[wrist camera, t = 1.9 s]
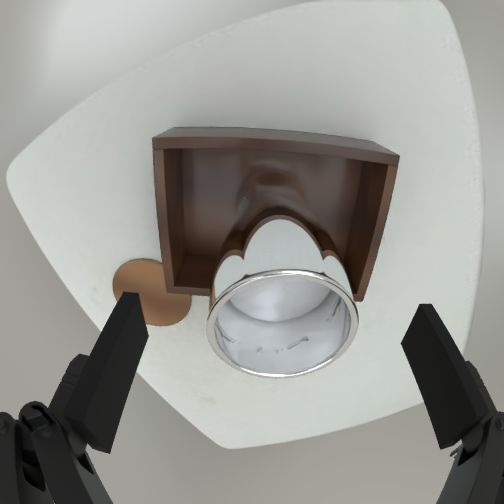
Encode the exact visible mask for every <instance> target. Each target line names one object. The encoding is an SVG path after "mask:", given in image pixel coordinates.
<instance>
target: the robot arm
mask: <svg viewBox="0 0 504 504" xmlns="http://www.w3.org/2000/svg"><path fill="white" fill-rule="evenodd" d="M148 337H149V335H148V331H147V327H146V323H145V319H144V314H143V310H142V306H141V301H140V297H139V293H134V292H124V291H123V293H122V295H121V297H120V299H119V300H118V302H117V304H116V306H115V308H114V309H113V311H112V313H111V315H110V317H109V319H108V321H107V322H106V324H105V326H104V328H103V330H102V332H101V334H100V336H99V338H98V340H97V342H96V344H95V346H94V348H93V350H92V352H91V354H90V356H87V355H83V354H79V355H77V356H76V357H75V358H74V359H73V360H72V361H71V362H70V364H69V366H68V368H67V370H66V373H65V374H64V376H63V378H62V381H61V382H60V384H59V386H58V388H57V390H56V392H55V394H54V396H53V399H52V401H51V403H50V405H49V407H48V408H47V407H46V406H45V405H44V404H43V403H41V402H37V401H33V402H29V403H27V404H26V405H24V406H23V408H22V409H21V410H20V413H19V420H15V419H14V418H13V417H12V416H11V415H9V414H8V413H6V412H0V504H54V503H55V504H113V502H112V501H111V499H110V497H109V495H108V493H107V492H106V490H105V488H104V486H103V484H102V482H101V480H100V478H99V476H98V475H97V472H96V470H95V468H94V466H93V464H92V462H91V460H90V458H89V456H88V453H87V452H86V450H85V449H86V445H87V443H88V444H89V445H90V446H91V447H92V449H95V450H98V451H102V452H105V453H109V454H110V452H111V448H112V445H113V442H114V438H115V435H116V431H117V428H118V425H119V422H120V418H121V415H122V412H123V409H124V406H125V403H126V400H127V397H128V393H129V391H130V388H131V384H132V382H133V379H134V376H135V373H136V370H137V367H138V364H139V362H140V359H141V356H142V353H143V350H144V348H145V345H146V342H147V339H148ZM401 345H402V348H403V350H404V352H405V355H406V357H407V359H408V362H409V364H410V367H411V369H412V372H413V374H414V377H415V379H416V382H417V384H418V387H419V389H420V392H421V395H422V397H423V400H424V403H425V405H426V408H427V411H428V414H429V417H430V419H431V422H432V425H433V428H434V431H435V434H436V437H437V441H438V444H439V447H440V449H444V448H447V447H450V446H453V445H455V444H456V443H457V442H458V441H459V440H460V439H461V440H462V444H461V445H460V446H459V447H458V448H456V449H455V450H454V451H453V452H451V454H450V456H453V455H454V454H455V453H456V452H457V455H456V456H455V457H454V458H455V460H454V463H453V466H452V468H451V471H450V473H449V476H448V478H447V481H446V483H445V485H444V488H443V490H442V492H441V494H440V497H439V499H438V501H437V503H436V504H504V412H498V411H497V410H496V408H495V406H494V403H493V401H492V399H491V397H490V395H489V393H488V391H487V389H486V387H485V386H484V383H483V381H482V379H480V375H479V373H478V371H477V369H476V368H475V367H474V366H473V365H472V364H471V363H470V362H469V361H465V360H464V358H463V357H462V355H461V353H460V351H459V349H458V347H457V346H456V344H455V342H454V340H453V339H452V337H451V335H450V333H449V332H448V330H447V328H446V327H445V325H444V323H443V322H442V320H441V318H440V317H439V315H438V313H437V312H436V310H435V309H434V307H433V305H432V304H419V306H418V309H417V311H416V313H415V315H414V317H413V319H412V322H411V324H410V326H409V328H408V330H407V332H406V334H405V336H404V338H403V340H402V342H401ZM53 501H54V502H53Z"/></svg>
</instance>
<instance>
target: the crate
mask: <svg viewBox="0 0 504 504" xmlns="http://www.w3.org/2000/svg"><path fill="white" fill-rule="evenodd" d="M152 145H153V166H154V183H155V196H156V209H157V220H158V230H159V239H160V248H161V257H162V265H163V272H164V279H165V285H166V293H172V294H185V295H198V296H210V285H211V278H212V272H213V266H214V262H215V258H216V255H217V252H218V248H219V245H220V243H221V241H222V239H223V237H224V235H225V233H226V231H227V229H228V227H229V226H230V224H231V223H232V221H233V219H234V218H235V216H236V212H235V196H236V193H237V190H238V188H239V187H240V185H241V184H242V183H243V181H244V180H245V179H247V178H248V177H249V176H251V175H252V174H254V173H256V172H259V171H263V170H279V171H283V172H285V173H288V174H290V175H291V176H293V177H294V178H295V179H296V180H297V181H298V182H299V183H300V184H301V186H302V187H303V189H304V191H305V194H306V199H307V208H308V209H309V210H310V211H311V212H312V213H313V214H314V215H315V216H316V217H317V218H318V220H319V221H320V222H321V223H322V224H323V226H324V227H325V228H326V230H327V231H328V232H329V234H330V235H331V237H332V239H333V241H334V243H335V245H336V247H337V249H338V251H339V253H340V255H341V258H342V261H343V263H344V266H345V269H346V272H347V276H348V279H349V283H350V286H351V291H352V295H353V298H354V302H362V301H363V299H364V296H365V293H366V290H367V287H368V284H369V280H370V277H371V274H372V271H373V267H374V264H375V260H376V257H377V253H378V250H379V246H380V243H381V239H382V235H383V231H384V227H385V223H386V219H387V215H388V211H389V207H390V202H391V198H392V193H393V189H394V184H395V179H396V174H397V169H398V163H399V158H400V156H399V155H398V154H396V153H394V152H392V151H390V150H388V149H386V148H385V147H383V146H381V145H379V144H377V143H375V142H373V141H367V140H361V139H355V138H348V137H341V136H334V135H326V134H318V133H309V132H299V131H288V130H275V129H259V128H237V127H174V128H172V129H169V130H167V131H165V132H163V133H161V134H159V135H157V136H155V137H153V138H152Z"/></svg>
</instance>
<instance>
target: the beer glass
mask: <svg viewBox="0 0 504 504" xmlns="http://www.w3.org/2000/svg"><path fill="white" fill-rule="evenodd" d="M235 212H236V216H235V218H234V219H233V221H232V223H231V224H230V226H229V227H228V229H227V231H226V233H225V235H224V237H223V239H222V241H221V243H220V245H219V248H218V252H217V255H216V258H215V262H214V266H213V272H212V278H211V285H210V296H209V312H208V318H207V325H206V330H207V337H208V340H209V343H210V345H211V347H212V348H213V350H214V351H215V353H216V354H217V355H218V356H219V357H220V358H221V359H222V360H223V361H224V362H225V363H227V364H228V365H230V366H231V367H233V368H235V369H237V370H239V371H241V372H244V373H246V374H250V375H253V376H257V377H263V378H292V377H298V376H302V375H306V374H309V373H312V372H315V371H317V370H320V369H322V368H324V367H326V366H327V365H329V364H331V363H332V362H334V361H335V360H336V359H338V358H339V357H340V356H341V355H342V354H343V353H344V352H345V351H346V350H347V349H348V347H349V346H350V345H351V343H352V341H353V339H354V337H355V335H356V332H357V329H358V323H359V315H358V310H357V306H356V304H355V302H354V298H353V295H352V291H351V286H350V283H349V279H348V276H347V272H346V269H345V266H344V263H343V261H342V258H341V255H340V253H339V251H338V249H337V247H336V245H335V243H334V241H333V239H332V237H331V235H330V234H329V232H328V231H327V230H326V228H325V227H324V226H323V224H322V223H321V222H320V221H319V220H318V218H317V217H316V216H315V215H314V214H313V213H312V212H311V211H310V210H309V209H308V208H307V199H306V194H305V191H304V189H303V187H302V186H301V184H300V183H299V182H298V181H297V180H296V179H295V178H294V177H293V176H291V175H290V174H288V173H285V172H283V171H279V170H263V171H259V172H256V173H254V174H252V175H251V176H249V177H248V178H247V179H245V180H244V181H243V183H242V184H241V185H240V187H239V188H238V190H237V193H236V196H235Z"/></svg>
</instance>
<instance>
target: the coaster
mask: <svg viewBox="0 0 504 504" xmlns="http://www.w3.org/2000/svg"><path fill="white" fill-rule="evenodd" d="M123 291H124V292H134V293H139V297H140V301H141V306H142V310H143V314H144V319H145V323H146V324H149V325H154V326H168V325H172V324H175V323H177V322H179V321H181V320H182V319H183V318H184V317H185V316H186V315H187V313H188V311H189V309H190V305H191V295H185V294H172V293H166V285H165V279H164V272H163V265H162V263H160V262H157V261H154V260H149V259H136V260H132V261H129V262H127V263H125V264H123V265H122V266H121V267H120V268H119V269H118V270H117V272H116V274H115V276H114V279H113V292H114V295H115V298H116V300H117V302H118V300H119V299H120V297H121V295H122V293H123Z"/></svg>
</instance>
